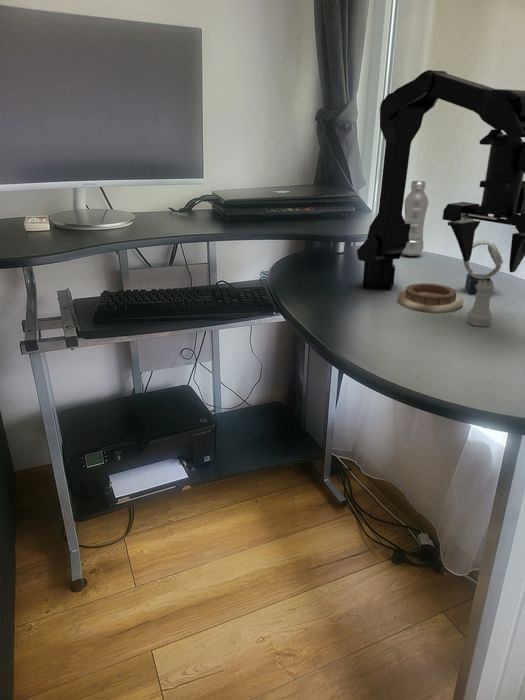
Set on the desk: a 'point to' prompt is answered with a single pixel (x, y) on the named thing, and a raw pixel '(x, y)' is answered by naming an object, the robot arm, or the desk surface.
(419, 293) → the well tray
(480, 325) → the rook chess piece
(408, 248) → the plastic bottle
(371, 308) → the desk surface
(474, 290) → the watch
